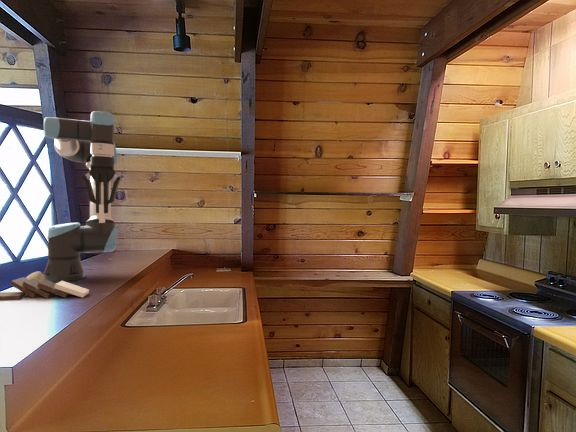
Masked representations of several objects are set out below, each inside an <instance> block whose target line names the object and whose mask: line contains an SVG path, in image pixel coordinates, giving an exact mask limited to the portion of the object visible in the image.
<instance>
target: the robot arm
mask: <svg viewBox="0 0 576 432" xmlns="http://www.w3.org/2000/svg"><path fill="white" fill-rule="evenodd" d="M43 134H44V135H43V136H44V137H45V138H46V139H52V140H54V143H53V146H54V150H55V152H56V153H57V154H58V155H59V156H60V157H62V158H64V159H67V160H69V161H72V162H75V163H81V164H82V163H85V167H86V168H87V169H89V170H88V172H87V173H86V174H84V175H83V174H82V175H81V178H82V180H83V181H84V183H85V187H86V190H87V194H88V198H89V218H88V219H87V220H86V221H85V225H81V223H80V222H67V223H59V224H54V225H51V226H49V228H48V229H47V230H48V232H47V233H48V234H47V241H48V243H47V245H48V247H47V250H48V251H47V252H48V253H47V264H46V265H45V269H44V271H43V273H42V274H43V276H44V280H48V281H51V282H53V283H58V282H60V281H65V282H73V281H78V280H82V279H84V278H85V277H86V276H85V275H86V274H85V273H86V272H85V270H84V267H83V264H82V261H81V254H90V253H103V254H104V253H110V252H111V253H112V252H114V251H115V250H116V249H117V242H118V236H119V225H117V224H116V221H115V220H114V219H112V203H114V202H115V199H116V195H117V192H118V187H119V184H120V182H121V181H122V179H123V178H122V176H119V175H117V174H116V171H115V165H118V156H117V146H116V143H115V117H114V114H113V113H111V112H108V111H103V110H102V111H100V110H97V111H95V110H94V111H92V112H91V113H90V120H83V119H82V120H81V119H74V118H73V119H71V118H64V117H58V116H54V117H51V116H46V117H44V119H43ZM112 180H113V181H114V182H113V184H111V181H112ZM111 185H112V186H111Z"/></svg>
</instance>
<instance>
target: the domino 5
mask: <svg viewBox="0 0 576 432" xmlns="http://www.w3.org/2000/svg"><path fill="white" fill-rule="evenodd" d="M55 283H56V284H55V287H54V288H55V289H58V290H61V291H64V292H67V293H70V294H71V295H73V296H76V297H79V298H84V297H85V296H87V295H89V292H90V289H88V288H85V287H82V286H79V285H76V284H74V283H70V282H69V281H66V282H65V281H60V282H55Z"/></svg>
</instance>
